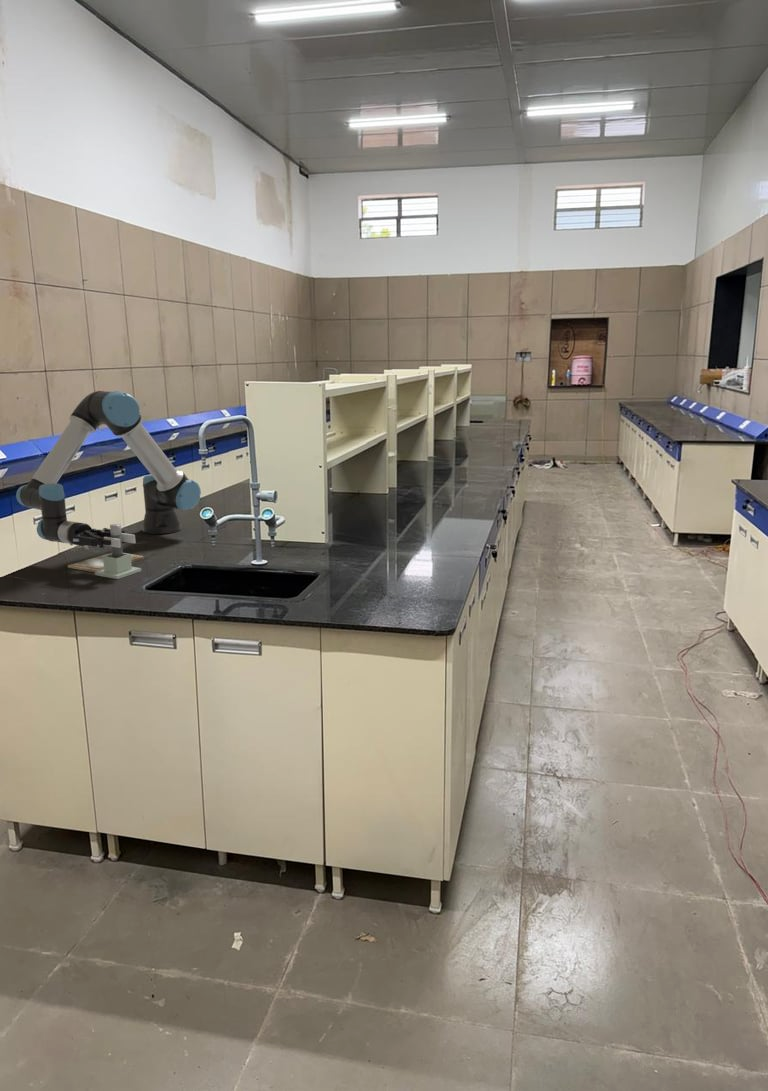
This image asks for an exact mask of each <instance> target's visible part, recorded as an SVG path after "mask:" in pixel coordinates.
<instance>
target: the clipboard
mask: <svg viewBox="0 0 768 1091" xmlns="http://www.w3.org/2000/svg"><path fill="white" fill-rule="evenodd" d="M125 553H126V554H128V553H127V552H125ZM109 554H112V551H111V552H109V553H104V554H102V555H98V556H95V557H91V558H89V559H88V558H87V559H84V560H80V561H78V562H74V563H71V564H67V568H69V569H74V570H80V571H85V572H89V573H90V572H91V573H95V572H97V571H100V570H103V569H104V563H103V556H106V555H109ZM130 554H131V563H134V562H136V561H140V560H143V559H144V556H143V555H138V554H132V553H130Z"/></svg>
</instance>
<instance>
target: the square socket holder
mask: <svg viewBox="0 0 768 1091" xmlns="http://www.w3.org/2000/svg"><path fill="white" fill-rule="evenodd" d="M126 553H127V552H123V556H121V557H118V558H114V557H112V554H109V555H106V556H103V563H104V569H103V570H100V571H97V572H94V575H95V576H99V577H104V578H110V579H115V580H120V579H122V578H126V577H129V576H131V575H133V574H134V575H135V574H138V573H140V572H142V567H136V566H132V562H131V554H132V553H127V554H126Z"/></svg>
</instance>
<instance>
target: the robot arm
mask: <svg viewBox="0 0 768 1091" xmlns="http://www.w3.org/2000/svg"><path fill="white" fill-rule="evenodd" d="M140 410H141V408H140V405H139V403H138V401H137V399H136V398H135V397H134V396H132V395H131V394H129V393H127V392H123V391H119V390H117V391H104V390H97V391H96V390H95V391H94V392H91V393H89V394H88V395H86V396H85V397H84V398H83V399H82V400H81V401H80V402H79V404H77V406H76V407H75V409H74V410H73V411H72V413H70V416H69V422H68V424H67V426H66V427H65V429H64V430H63V431H62V433H61V434H60V436H59V437H58V439H57V440H56V442H55V443H54V445H53V446H52V447H51V450H50V451H49V453H48V454H47V456H46V457H45V459H44V460H43V461H42V463H41V464H40V466H39V467H38V468H37V469H36V472H35V473H34V474H33V475H32V477H31V479H30V481H29V482H28V483H27V484H25V485H21V486H20V487H19V488H18V489H17V490H16V495H15V498H16V500H17V502H18V503H19V504H20V505H21V506H24V507H26V508H29V509H35V510H40V512H41V520H39V522H38V523H37V526H36V534H37V535H38V536H39V538H41V539H42V540H46V541H49V542H55V543H62V544H69V545H70V546H73V545H74V546H81V547H84V546H88V547H94V548H95V547H96V548H97V547H98V546H99V548H100V549H103V548H104V547H105V546H106V547H111V548H112V547H117V548H120V547H121V542H120V539H117V538H111V533H110V528H107V527H103V528H102V529H96V528H92V527H91V525H90V524H88V523H86V522H85V523H84V522H78V521H71V520H68V518H67V508H66V495H65V492H64V486H63V485H62V484H61V483H58V482H59V480H60V479H61V477H62V476H63V474H64V473H65V471H66V470H67V469H68V467H69V465H70V464H71V462H72V461H73V459H74V458H75V457H76V455H77V454H78V451H79V450H80V449H81V447H82V446H83V445H84V444H85V442H86V440H87V438H88V437H89V435H90V434H93V433H95V432H96V430H97V429H98V428H99V427H100V426H101V425H106V426H107V428H108V429H109V430H110V431H111V433H112V434H113V435H114V436H115V437H121V438H122V440H123V441H124V442H125V443H126V445H127V446H128V447H129V449H130V450H131V451H132V452H133V454H134V455H135V456H136V457H137V458H138V460H139V461H140V462H141V464H142V466H144V467H145V469H146V470H147V471H148V473H150V474H147V475H144V476H143V478H142V488H143V497H144V498H143V500H144V509H145V513H144V517H143V523H142V525H141V527H142V528H141V529H142V532H143V533H144V534H151V535H161V534H162V535H163V534H171V533H175V532H176V533H177V532H179V531H181V530H182V524H181V521H180V520H179V519H180V518H179V517H178V516H179V515H178V513H177V511H176V509H178V510H182V511H183V510H184V511H185V510H186V511H189V510H192V509H193V508H195V507H196V506H197V505H198V504H199V502H200V498H201V495H202V493H201V487H200V485H199V483H197V481H195V480H193V479H189V478H188V477H187V475H186V474H185V472H184V471H183V470H182V469H177V468H176V467H175V466H174V464H172V461H170V459H169V458H168V457H167V455H166V454H165V453H164V451H163V450H162V449H161V448H160V446H159V445H158V444H157V442H156V441H155V439H154V438H153V437H152V435H151V434H150V433H149V432H148V430H147V429H146V428H145V426H144V425H143V424H142V420H143V417H142V415H141V412H140ZM121 533H122V534H121V535H122V543H126V544H127V543H128V544H136V541H137V540H136V535H135V534H131V533H126V531H125V530H122V529H121Z"/></svg>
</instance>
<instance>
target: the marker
mask: <svg viewBox="0 0 768 1091" xmlns="http://www.w3.org/2000/svg"><path fill="white" fill-rule="evenodd" d="M109 529H110V533H111V538H117V539H120V542H121V547H120V548H117V547H111V552H112V557H114V558H118V557H121V556H123V553H124V551H123V550H124V549H123V542H122V535H121V534H122V533H121V530H122V524H120V523H113V524H110V525H109Z"/></svg>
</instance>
